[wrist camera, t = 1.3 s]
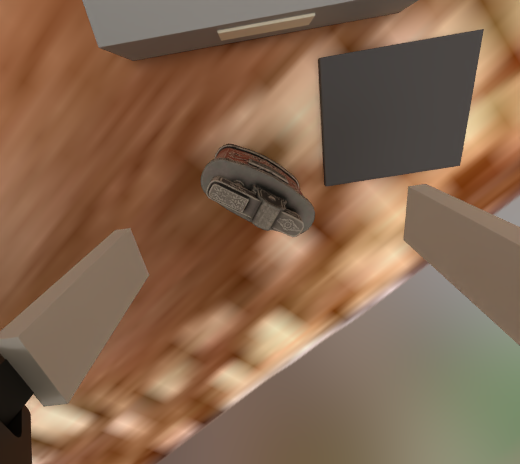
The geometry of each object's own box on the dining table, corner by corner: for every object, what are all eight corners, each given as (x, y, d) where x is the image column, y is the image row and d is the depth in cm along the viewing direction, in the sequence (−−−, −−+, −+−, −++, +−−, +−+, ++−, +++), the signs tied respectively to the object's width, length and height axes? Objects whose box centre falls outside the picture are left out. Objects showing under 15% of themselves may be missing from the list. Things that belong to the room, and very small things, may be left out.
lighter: (304, 177, 24) (336, 218, 15) (286, 207, 26) (305, 263, 17) (224, 134, 23) (206, 153, 14) (209, 170, 24) (183, 208, 15)
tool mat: (324, 184, 25) (326, 186, 24) (318, 59, 20) (320, 57, 20) (455, 164, 24) (459, 165, 24) (477, 31, 20) (483, 29, 19)
